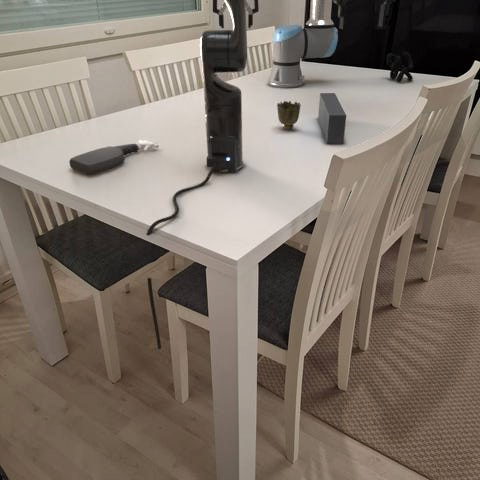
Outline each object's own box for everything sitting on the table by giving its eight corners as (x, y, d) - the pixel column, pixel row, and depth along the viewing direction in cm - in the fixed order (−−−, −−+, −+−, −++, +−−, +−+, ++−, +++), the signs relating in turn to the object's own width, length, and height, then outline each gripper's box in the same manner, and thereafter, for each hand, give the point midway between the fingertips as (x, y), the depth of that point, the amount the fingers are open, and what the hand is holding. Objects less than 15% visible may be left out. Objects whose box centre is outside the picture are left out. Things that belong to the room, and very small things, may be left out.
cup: (272, 130, 144) (273, 105, 139) (281, 123, 149) (282, 99, 145) (294, 133, 141) (295, 108, 136) (302, 126, 146) (304, 102, 142)
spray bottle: (67, 168, 120) (139, 144, 136) (91, 178, 114) (163, 151, 130) (65, 157, 118) (137, 134, 134) (89, 167, 112) (162, 142, 128)
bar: (343, 144, 132) (346, 115, 128) (326, 144, 133) (329, 115, 128) (332, 118, 154) (334, 92, 150) (318, 118, 154) (320, 93, 150)
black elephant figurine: (400, 92, 202) (376, 71, 205) (417, 76, 202) (392, 56, 205) (405, 81, 191) (380, 59, 194) (423, 64, 191) (397, 42, 194)
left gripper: (210, -32, 130) (212, 29, 139) (258, -33, 130) (258, 29, 138) (212, -32, 137) (214, 26, 145) (258, -33, 136) (258, 26, 144)
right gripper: (336, -50, 128) (329, 30, 140) (415, -52, 132) (402, 27, 144) (326, -50, 134) (321, 27, 146) (402, -51, 139) (391, 24, 150)
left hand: (236, 27), depth 141 cm, fingers open, 8 cm apart
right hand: (361, 27), depth 145 cm, fingers open, 13 cm apart
